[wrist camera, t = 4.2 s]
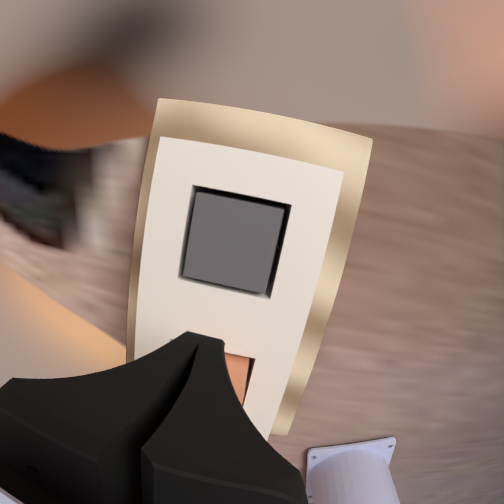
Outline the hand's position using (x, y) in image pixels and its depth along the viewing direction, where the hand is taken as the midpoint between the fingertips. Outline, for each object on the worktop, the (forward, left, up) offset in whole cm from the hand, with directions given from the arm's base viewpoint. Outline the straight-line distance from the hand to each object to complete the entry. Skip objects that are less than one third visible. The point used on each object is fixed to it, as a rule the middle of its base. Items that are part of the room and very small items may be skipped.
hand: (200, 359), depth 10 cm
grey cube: (+3, -1, -9) cm, 10 cm away
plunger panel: (-1, 0, -10) cm, 10 cm away
